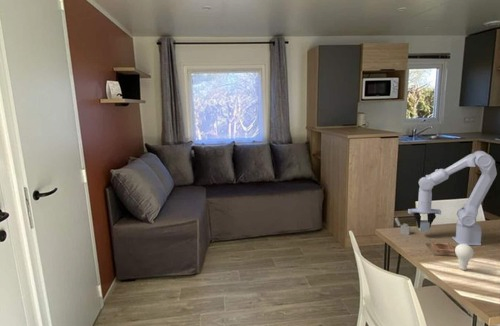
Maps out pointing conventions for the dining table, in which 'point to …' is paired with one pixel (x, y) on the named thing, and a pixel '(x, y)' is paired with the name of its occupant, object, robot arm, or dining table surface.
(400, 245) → the dining table surface
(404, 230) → the lighter
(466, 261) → the lightbulb
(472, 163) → the robot arm
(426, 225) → the block
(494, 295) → the dining table surface
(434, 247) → the base plate
